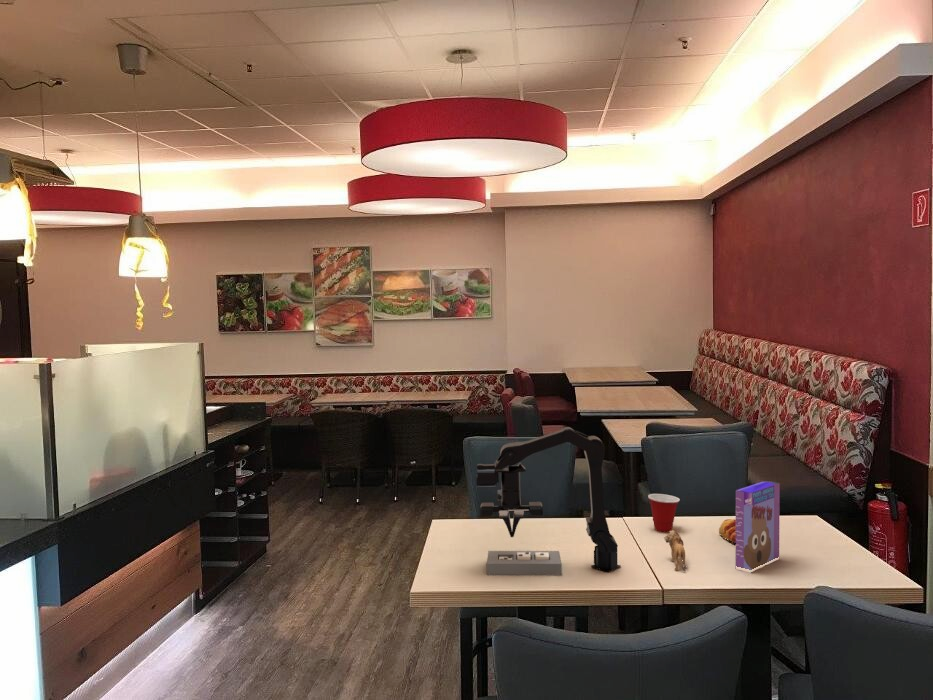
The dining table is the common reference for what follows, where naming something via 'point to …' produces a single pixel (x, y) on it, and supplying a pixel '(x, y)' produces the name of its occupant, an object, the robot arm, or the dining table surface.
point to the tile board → (523, 564)
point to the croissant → (728, 529)
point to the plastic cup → (663, 511)
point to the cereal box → (757, 524)
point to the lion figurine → (676, 548)
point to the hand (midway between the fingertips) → (512, 536)
